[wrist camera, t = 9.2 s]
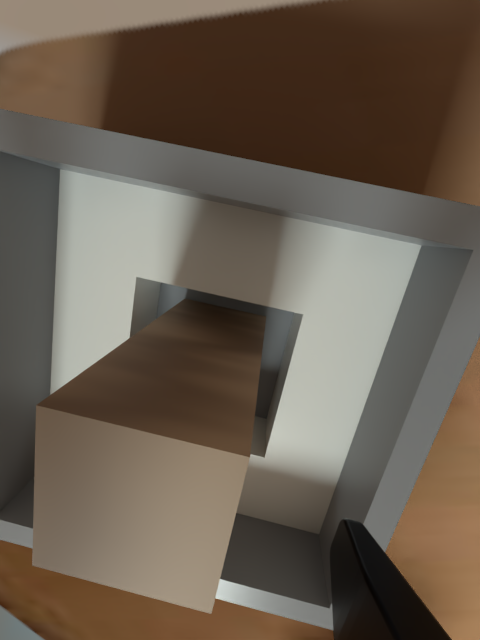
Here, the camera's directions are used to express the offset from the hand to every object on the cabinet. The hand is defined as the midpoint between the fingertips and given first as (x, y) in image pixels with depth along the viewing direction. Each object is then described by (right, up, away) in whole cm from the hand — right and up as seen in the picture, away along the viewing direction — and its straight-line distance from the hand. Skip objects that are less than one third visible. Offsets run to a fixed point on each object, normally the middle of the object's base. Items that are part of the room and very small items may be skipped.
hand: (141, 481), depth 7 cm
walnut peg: (+1, +2, +9) cm, 9 cm away
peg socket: (+1, +3, +10) cm, 10 cm away
